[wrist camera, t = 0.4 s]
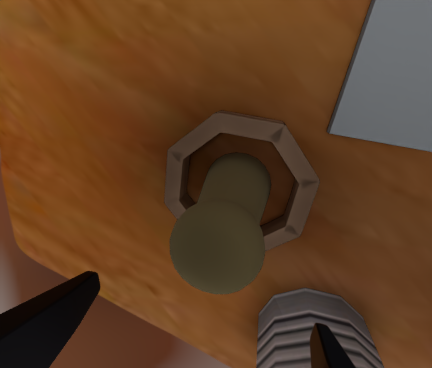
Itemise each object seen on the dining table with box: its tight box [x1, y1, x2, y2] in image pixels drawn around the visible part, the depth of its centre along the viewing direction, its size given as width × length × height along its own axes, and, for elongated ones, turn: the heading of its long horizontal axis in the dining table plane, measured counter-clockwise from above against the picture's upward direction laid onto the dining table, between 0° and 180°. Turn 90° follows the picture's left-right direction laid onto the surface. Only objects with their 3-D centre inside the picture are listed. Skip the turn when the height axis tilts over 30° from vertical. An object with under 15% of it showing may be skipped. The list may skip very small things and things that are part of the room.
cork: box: [170, 152, 271, 294], centre depth 16 cm, size 6×6×11 cm
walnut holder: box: [164, 111, 320, 251], centre depth 20 cm, size 12×12×2 cm
